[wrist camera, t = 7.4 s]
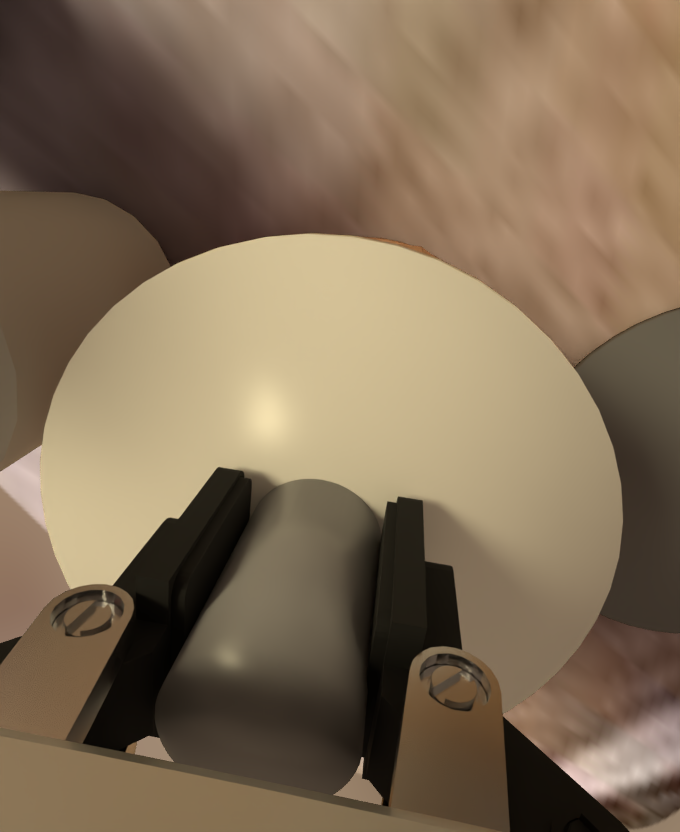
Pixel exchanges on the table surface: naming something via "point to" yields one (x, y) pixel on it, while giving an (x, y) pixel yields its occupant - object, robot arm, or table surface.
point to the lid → (332, 481)
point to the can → (57, 295)
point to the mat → (643, 465)
